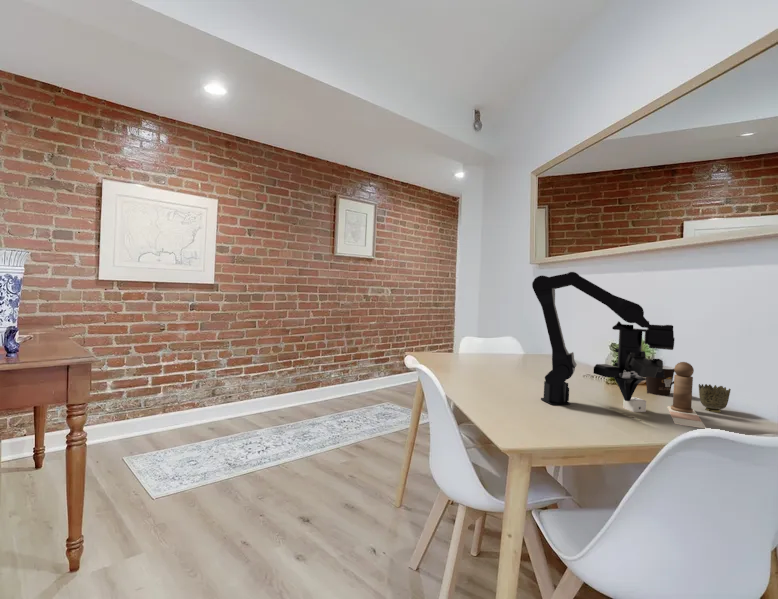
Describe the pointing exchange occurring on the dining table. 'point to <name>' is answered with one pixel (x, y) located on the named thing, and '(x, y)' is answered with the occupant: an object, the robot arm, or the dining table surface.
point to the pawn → (683, 388)
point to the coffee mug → (661, 383)
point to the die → (635, 405)
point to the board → (686, 416)
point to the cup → (713, 397)
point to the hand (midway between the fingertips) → (627, 400)
